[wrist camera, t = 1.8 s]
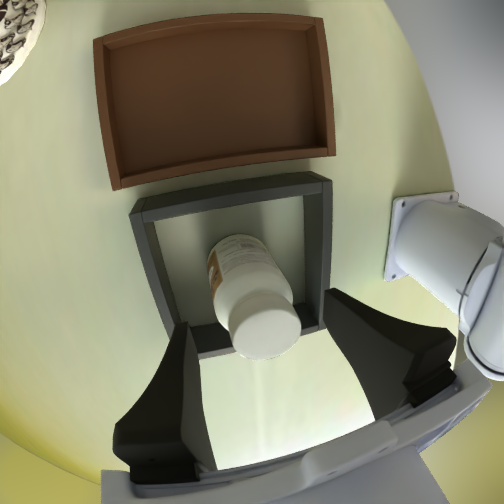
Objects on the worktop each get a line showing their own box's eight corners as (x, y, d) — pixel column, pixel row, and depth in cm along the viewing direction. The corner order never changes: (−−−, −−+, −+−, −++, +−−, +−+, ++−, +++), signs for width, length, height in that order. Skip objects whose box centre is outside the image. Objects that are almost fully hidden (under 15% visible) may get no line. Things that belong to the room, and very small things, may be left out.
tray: (310, 25, 13) (323, 17, 11) (322, 152, 17) (336, 156, 16) (101, 47, 11) (92, 39, 9) (119, 184, 15) (112, 191, 14)
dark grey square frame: (311, 170, 18) (333, 180, 15) (311, 306, 23) (326, 328, 20) (137, 199, 16) (128, 214, 13) (178, 336, 21) (179, 363, 19)
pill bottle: (194, 251, 18) (204, 328, 12) (253, 221, 18) (296, 283, 12) (223, 297, 20) (245, 378, 14) (276, 271, 21) (319, 342, 14)
